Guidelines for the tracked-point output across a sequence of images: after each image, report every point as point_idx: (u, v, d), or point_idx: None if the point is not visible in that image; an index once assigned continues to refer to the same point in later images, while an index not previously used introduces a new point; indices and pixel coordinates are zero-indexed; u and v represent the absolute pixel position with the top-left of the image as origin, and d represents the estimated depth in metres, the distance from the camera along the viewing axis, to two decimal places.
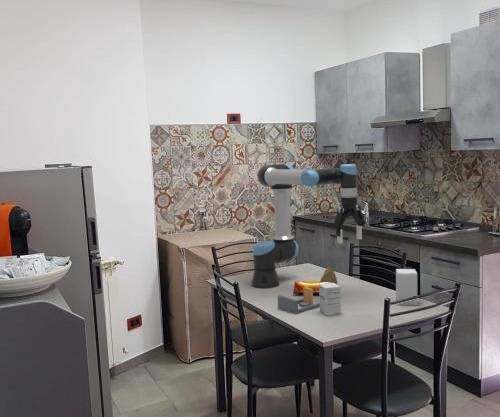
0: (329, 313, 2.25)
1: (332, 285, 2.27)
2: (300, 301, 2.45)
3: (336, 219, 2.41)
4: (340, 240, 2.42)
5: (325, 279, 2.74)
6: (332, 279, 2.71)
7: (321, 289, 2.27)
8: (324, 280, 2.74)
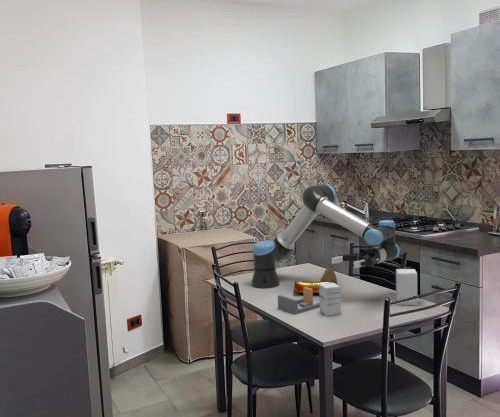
0: (329, 313, 2.25)
1: (332, 285, 2.27)
2: (300, 301, 2.45)
3: (374, 260, 2.33)
4: (357, 266, 2.28)
5: (325, 279, 2.74)
6: (332, 279, 2.71)
7: (321, 289, 2.27)
8: (324, 280, 2.74)
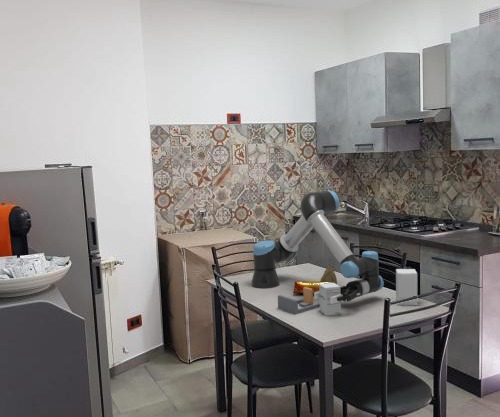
0: (329, 313, 2.25)
1: (332, 285, 2.27)
2: (300, 301, 2.45)
3: (353, 295, 2.27)
4: (333, 301, 2.23)
5: (325, 279, 2.74)
6: (332, 279, 2.71)
7: (321, 289, 2.27)
8: (324, 280, 2.74)
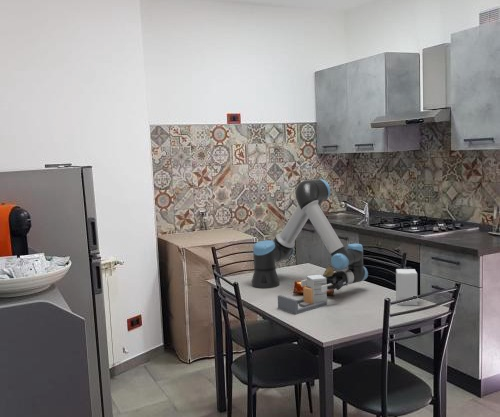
0: (316, 303, 2.41)
1: (319, 277, 2.43)
2: (300, 301, 2.45)
3: (341, 284, 2.42)
4: (324, 290, 2.38)
5: None
6: None
7: (309, 281, 2.43)
8: None
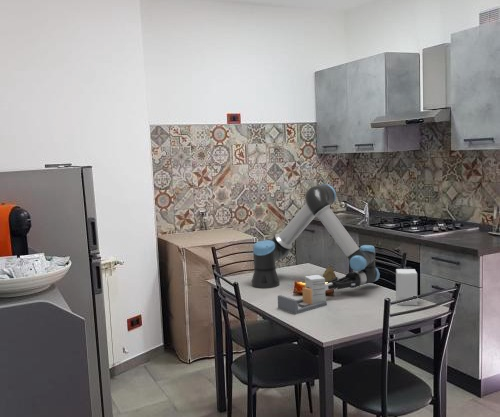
0: (315, 303, 2.41)
1: (317, 277, 2.42)
2: (300, 301, 2.45)
3: (345, 284, 2.49)
4: (325, 289, 2.46)
5: (325, 279, 2.74)
6: None
7: (307, 281, 2.42)
8: None
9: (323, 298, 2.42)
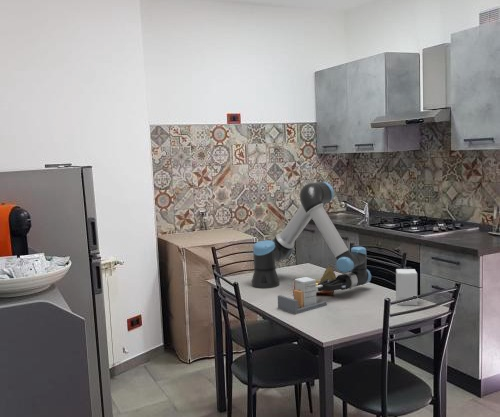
0: None
1: (308, 279, 2.39)
2: None
3: (335, 287, 2.46)
4: None
5: (325, 279, 2.74)
6: (332, 279, 2.71)
7: (298, 284, 2.38)
8: (324, 280, 2.74)
9: (314, 300, 2.39)
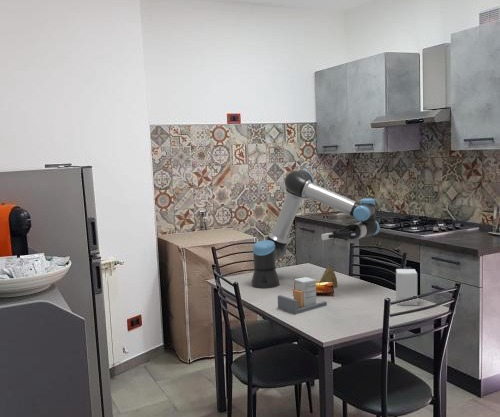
0: None
1: (308, 279, 2.39)
2: None
3: (345, 234, 2.52)
4: (325, 238, 2.49)
5: (325, 279, 2.74)
6: (332, 279, 2.71)
7: (298, 284, 2.38)
8: (324, 280, 2.74)
9: (314, 300, 2.39)
